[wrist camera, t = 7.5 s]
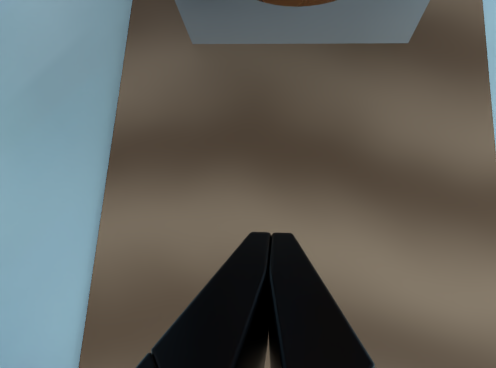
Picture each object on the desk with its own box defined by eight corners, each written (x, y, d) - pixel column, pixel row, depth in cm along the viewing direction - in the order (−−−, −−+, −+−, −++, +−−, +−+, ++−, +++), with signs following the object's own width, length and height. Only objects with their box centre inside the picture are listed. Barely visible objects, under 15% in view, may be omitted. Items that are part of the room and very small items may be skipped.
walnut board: (507, 472, 13) (524, 488, 12) (82, 425, 15) (68, 436, 14) (467, -34, 18) (478, -51, 17) (146, -26, 19) (138, -42, 18)
